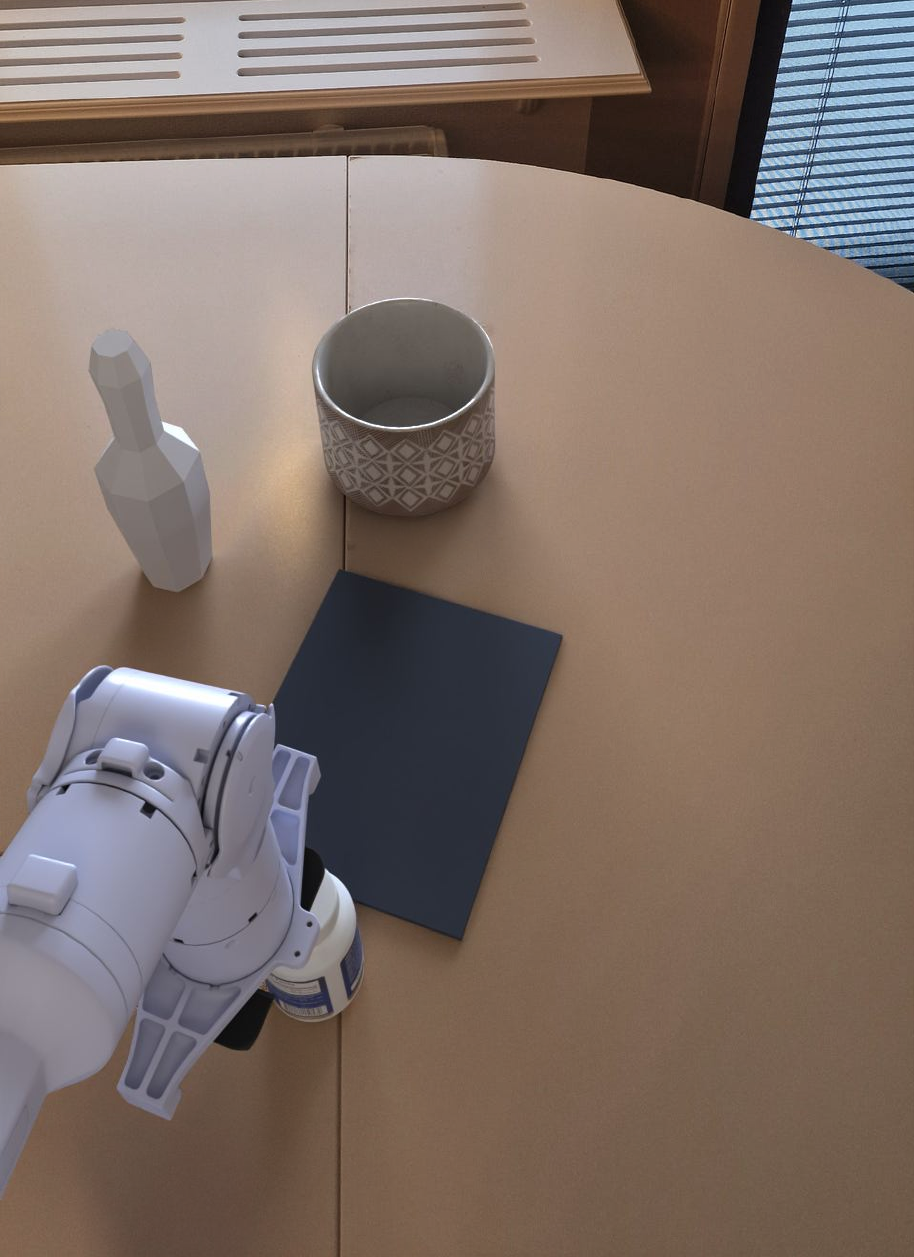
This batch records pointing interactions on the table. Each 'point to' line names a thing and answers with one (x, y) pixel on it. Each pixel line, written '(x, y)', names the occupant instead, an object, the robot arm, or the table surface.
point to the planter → (406, 405)
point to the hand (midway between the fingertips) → (255, 980)
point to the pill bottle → (324, 961)
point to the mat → (411, 741)
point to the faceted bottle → (150, 470)
